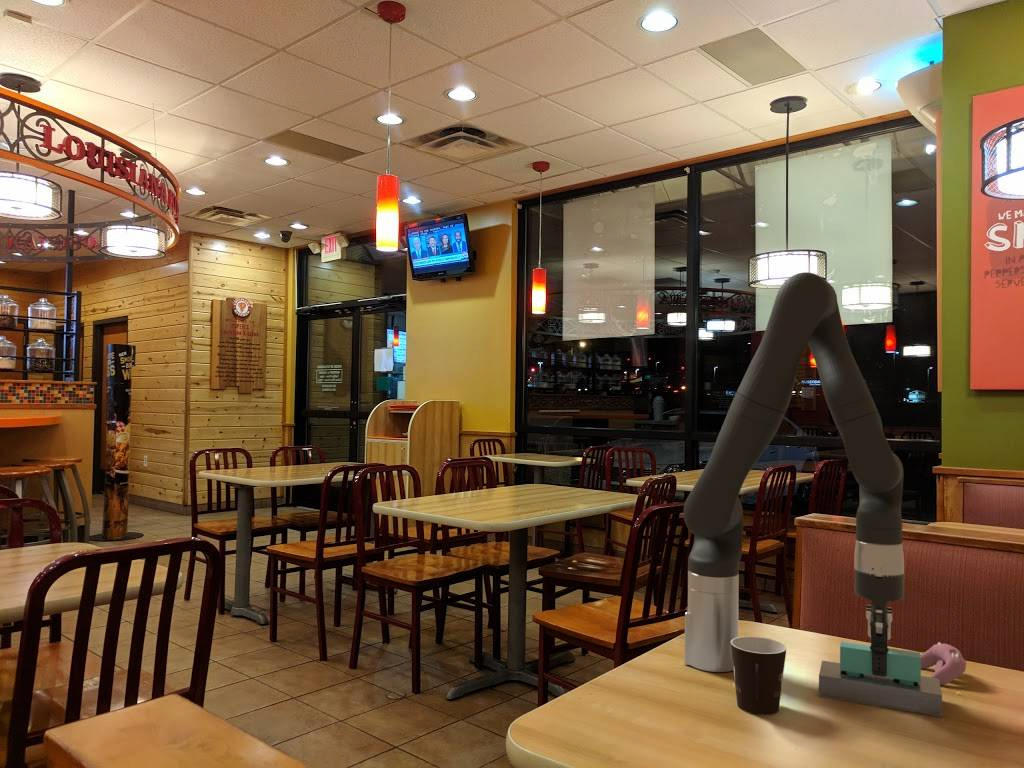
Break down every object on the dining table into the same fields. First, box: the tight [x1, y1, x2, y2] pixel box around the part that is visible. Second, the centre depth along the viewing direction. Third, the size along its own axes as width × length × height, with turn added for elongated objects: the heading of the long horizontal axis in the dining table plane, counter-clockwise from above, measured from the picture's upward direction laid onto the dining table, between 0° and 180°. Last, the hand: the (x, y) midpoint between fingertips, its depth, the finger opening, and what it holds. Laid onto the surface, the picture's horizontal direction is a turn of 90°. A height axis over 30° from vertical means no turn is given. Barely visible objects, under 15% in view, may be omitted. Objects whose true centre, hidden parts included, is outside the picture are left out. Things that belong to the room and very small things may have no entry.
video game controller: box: [920, 641, 967, 686], centre depth 135 cm, size 10×5×7 cm, turn 170°
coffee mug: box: [731, 635, 787, 716], centre depth 120 cm, size 12×9×10 cm
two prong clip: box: [839, 641, 922, 686], centre depth 125 cm, size 12×3×7 cm, turn 64°
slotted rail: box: [818, 660, 943, 718], centre depth 125 cm, size 18×8×4 cm, turn 64°
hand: (879, 671), depth 125 cm, fingers closed on two prong clip, 3 cm apart
